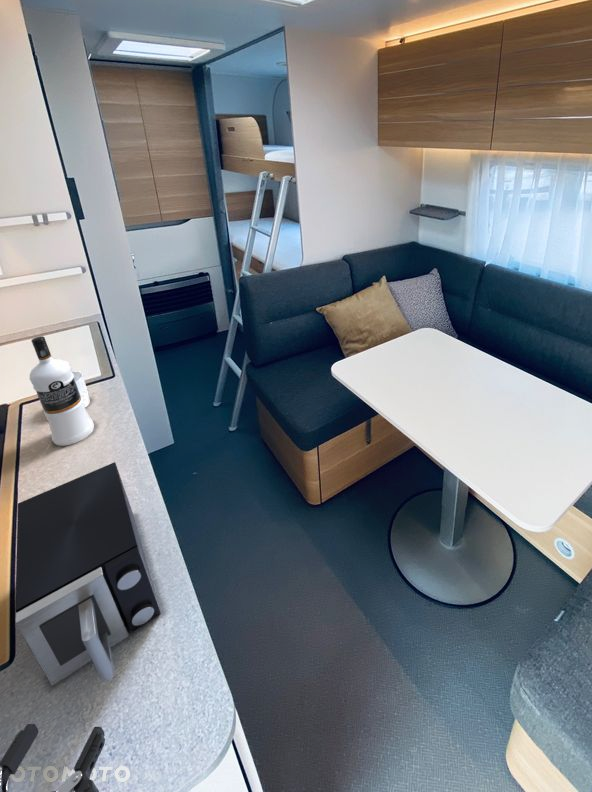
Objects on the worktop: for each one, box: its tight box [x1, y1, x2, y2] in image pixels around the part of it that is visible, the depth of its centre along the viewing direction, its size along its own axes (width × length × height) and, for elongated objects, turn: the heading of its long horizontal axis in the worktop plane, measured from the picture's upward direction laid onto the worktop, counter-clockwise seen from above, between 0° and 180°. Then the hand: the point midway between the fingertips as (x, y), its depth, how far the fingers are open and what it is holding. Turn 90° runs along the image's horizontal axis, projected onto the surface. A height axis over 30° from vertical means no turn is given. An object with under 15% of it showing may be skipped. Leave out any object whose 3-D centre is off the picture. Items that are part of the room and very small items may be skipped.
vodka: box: [29, 335, 95, 447], centre depth 105 cm, size 9×9×30 cm
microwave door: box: [15, 567, 129, 686], centre depth 59 cm, size 8×10×16 cm
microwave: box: [14, 461, 162, 633], centre depth 70 cm, size 24×15×16 cm, turn 38°
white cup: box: [72, 371, 91, 408], centre depth 120 cm, size 8×8×10 cm
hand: (67, 728), depth 51 cm, fingers open, 8 cm apart
